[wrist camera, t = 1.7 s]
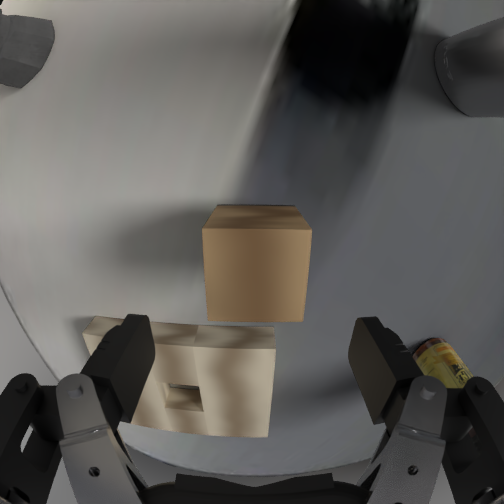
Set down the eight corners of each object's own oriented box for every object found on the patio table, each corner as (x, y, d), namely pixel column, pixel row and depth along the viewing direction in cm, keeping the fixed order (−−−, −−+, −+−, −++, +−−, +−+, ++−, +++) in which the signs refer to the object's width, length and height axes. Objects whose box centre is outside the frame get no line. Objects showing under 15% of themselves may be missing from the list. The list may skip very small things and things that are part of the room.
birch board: (273, 326, 27) (275, 348, 24) (266, 417, 33) (267, 437, 30) (95, 315, 27) (82, 333, 24) (129, 404, 33) (122, 421, 30)
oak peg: (289, 198, 23) (311, 229, 14) (286, 260, 25) (302, 321, 16) (222, 197, 23) (202, 228, 14) (223, 260, 25) (207, 320, 16)
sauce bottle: (451, 343, 29) (521, 445, 11) (421, 375, 31) (476, 482, 12) (431, 327, 28) (514, 445, 9) (398, 362, 30) (459, 488, 11)
